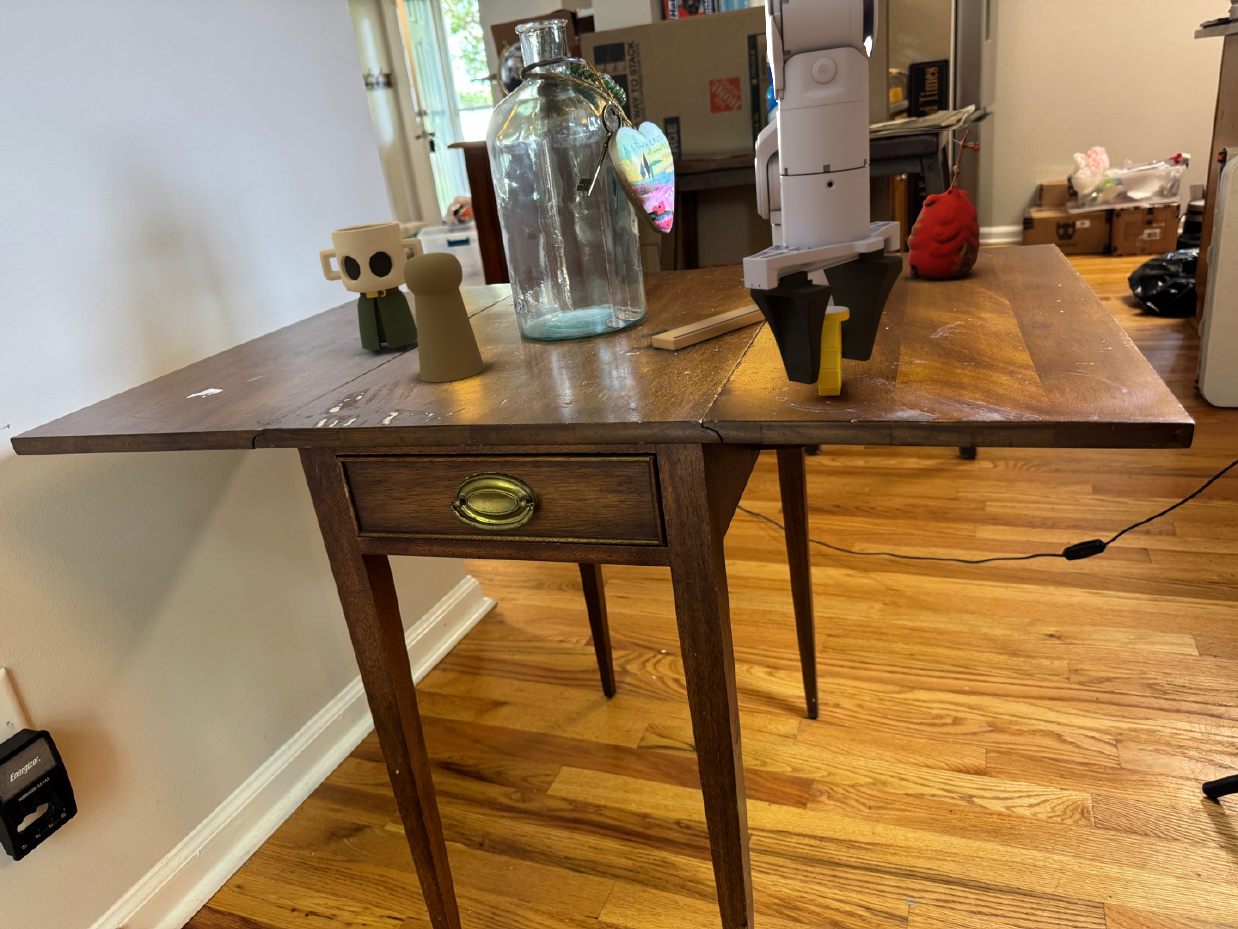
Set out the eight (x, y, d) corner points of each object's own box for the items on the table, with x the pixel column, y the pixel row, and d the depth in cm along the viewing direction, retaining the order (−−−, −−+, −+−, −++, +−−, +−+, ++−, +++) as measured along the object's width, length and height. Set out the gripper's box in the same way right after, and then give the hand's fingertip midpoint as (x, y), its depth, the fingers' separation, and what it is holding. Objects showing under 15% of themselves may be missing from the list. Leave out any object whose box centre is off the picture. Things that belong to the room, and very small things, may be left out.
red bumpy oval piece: (945, 266, 98) (949, 128, 92) (994, 272, 92) (1001, 124, 86) (894, 278, 95) (894, 136, 90) (941, 285, 89) (944, 133, 83)
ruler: (752, 313, 87) (751, 303, 87) (774, 316, 85) (774, 305, 85) (652, 347, 79) (651, 335, 79) (674, 350, 77) (673, 339, 77)
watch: (849, 404, 58) (847, 318, 56) (807, 405, 59) (804, 321, 57) (852, 378, 63) (850, 299, 61) (814, 379, 64) (811, 301, 62)
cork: (471, 380, 76) (447, 256, 72) (409, 384, 77) (383, 262, 73) (493, 361, 81) (472, 245, 77) (435, 365, 83) (412, 251, 79)
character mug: (334, 361, 90) (302, 236, 85) (352, 345, 96) (323, 229, 92) (435, 349, 90) (409, 223, 85) (446, 334, 96) (423, 216, 91)
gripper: (802, 183, 48) (810, 407, 53) (940, 153, 57) (936, 351, 62) (713, 186, 54) (728, 391, 59) (851, 159, 62) (854, 340, 67)
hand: (829, 370), depth 60 cm, fingers closed on watch, 5 cm apart
